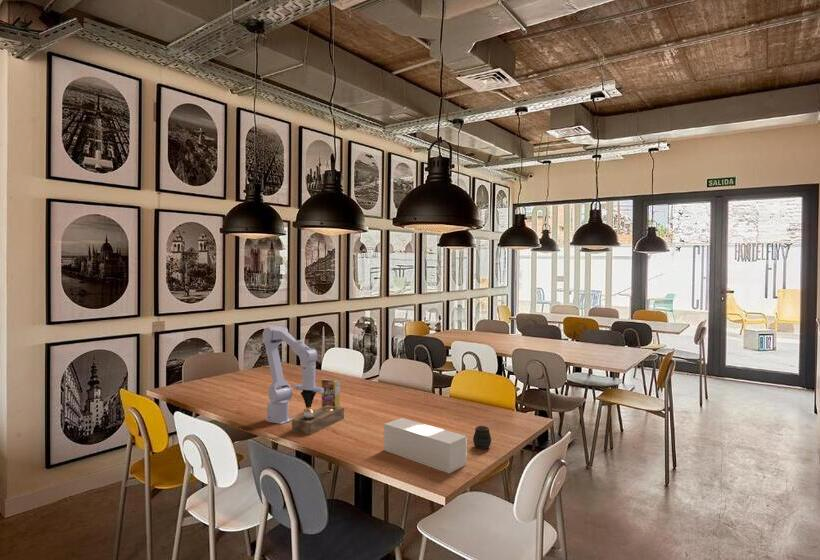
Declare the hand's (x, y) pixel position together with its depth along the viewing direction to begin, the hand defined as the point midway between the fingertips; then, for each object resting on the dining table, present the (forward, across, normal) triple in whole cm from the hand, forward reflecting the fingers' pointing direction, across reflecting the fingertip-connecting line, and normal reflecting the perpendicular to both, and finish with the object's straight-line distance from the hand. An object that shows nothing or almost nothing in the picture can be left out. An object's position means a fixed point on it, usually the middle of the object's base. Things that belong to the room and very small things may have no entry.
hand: (308, 407), depth 212 cm
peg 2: (+9, 0, -16) cm, 19 cm away
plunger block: (+10, 0, -8) cm, 13 cm away
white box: (+10, -58, +5) cm, 59 cm away
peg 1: (+5, 0, 0) cm, 5 cm away
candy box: (+10, +9, -30) cm, 33 cm away
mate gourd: (+10, -75, -15) cm, 77 cm away
